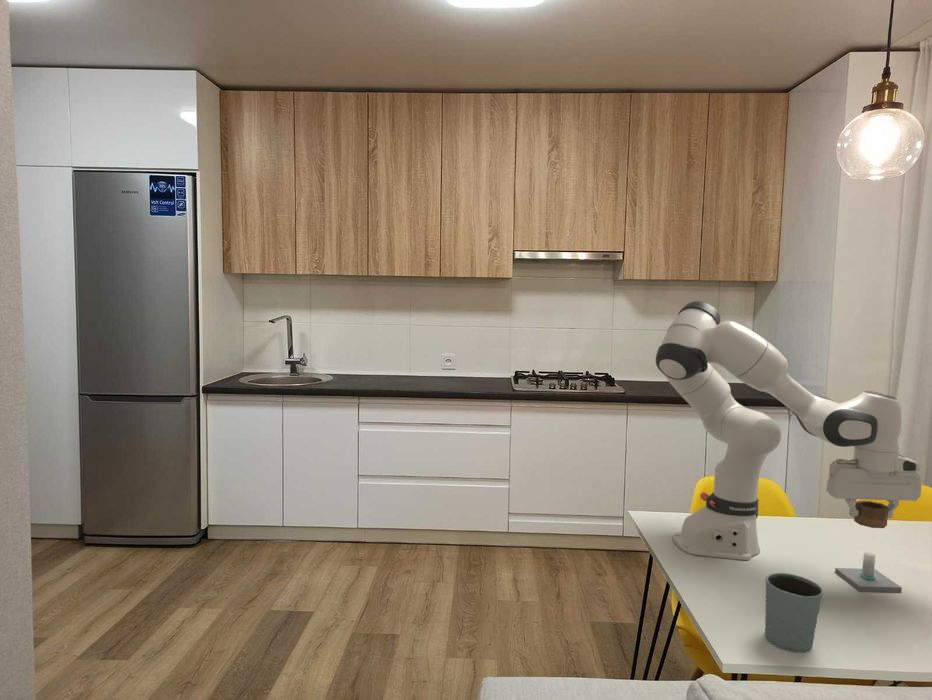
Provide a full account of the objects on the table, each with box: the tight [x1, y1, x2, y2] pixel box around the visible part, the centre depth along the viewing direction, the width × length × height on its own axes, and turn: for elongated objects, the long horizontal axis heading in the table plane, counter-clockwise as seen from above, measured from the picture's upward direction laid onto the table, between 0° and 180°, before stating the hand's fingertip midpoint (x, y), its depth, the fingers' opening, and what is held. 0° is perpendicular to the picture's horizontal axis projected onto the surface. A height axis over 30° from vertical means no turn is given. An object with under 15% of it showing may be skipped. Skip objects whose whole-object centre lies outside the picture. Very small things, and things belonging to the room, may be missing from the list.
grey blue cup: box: [764, 572, 824, 654], centre depth 127 cm, size 10×10×12 cm
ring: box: [853, 500, 889, 529], centre depth 151 cm, size 6×6×4 cm
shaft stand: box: [834, 552, 903, 593], centre depth 155 cm, size 10×10×7 cm
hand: (870, 516), depth 152 cm, fingers closed on ring, 6 cm apart
